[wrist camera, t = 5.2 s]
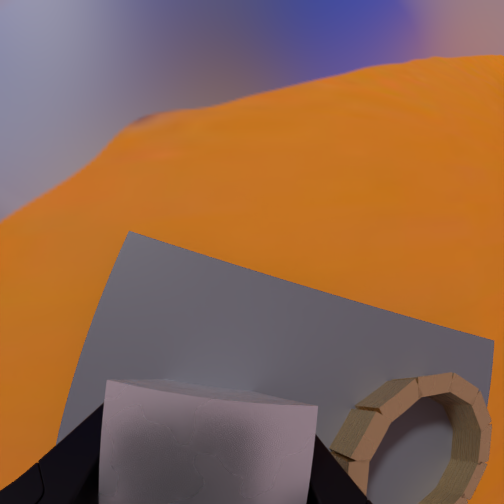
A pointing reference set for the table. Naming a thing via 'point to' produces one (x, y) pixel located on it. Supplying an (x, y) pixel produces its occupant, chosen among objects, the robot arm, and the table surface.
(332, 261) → the table surface
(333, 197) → the table surface
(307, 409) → the tall lilac block
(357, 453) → the collar
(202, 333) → the stove plate
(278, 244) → the table surface
